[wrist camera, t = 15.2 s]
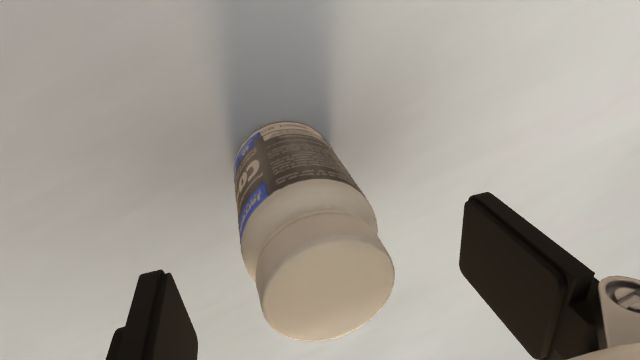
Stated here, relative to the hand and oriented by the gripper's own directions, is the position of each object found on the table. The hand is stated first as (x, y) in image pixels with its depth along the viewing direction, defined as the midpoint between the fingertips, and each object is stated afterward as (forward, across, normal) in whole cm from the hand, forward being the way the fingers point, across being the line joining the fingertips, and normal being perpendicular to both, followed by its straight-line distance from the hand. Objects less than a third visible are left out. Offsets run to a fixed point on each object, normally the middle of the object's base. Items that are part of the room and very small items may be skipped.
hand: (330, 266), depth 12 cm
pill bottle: (+7, 0, 0) cm, 7 cm away
